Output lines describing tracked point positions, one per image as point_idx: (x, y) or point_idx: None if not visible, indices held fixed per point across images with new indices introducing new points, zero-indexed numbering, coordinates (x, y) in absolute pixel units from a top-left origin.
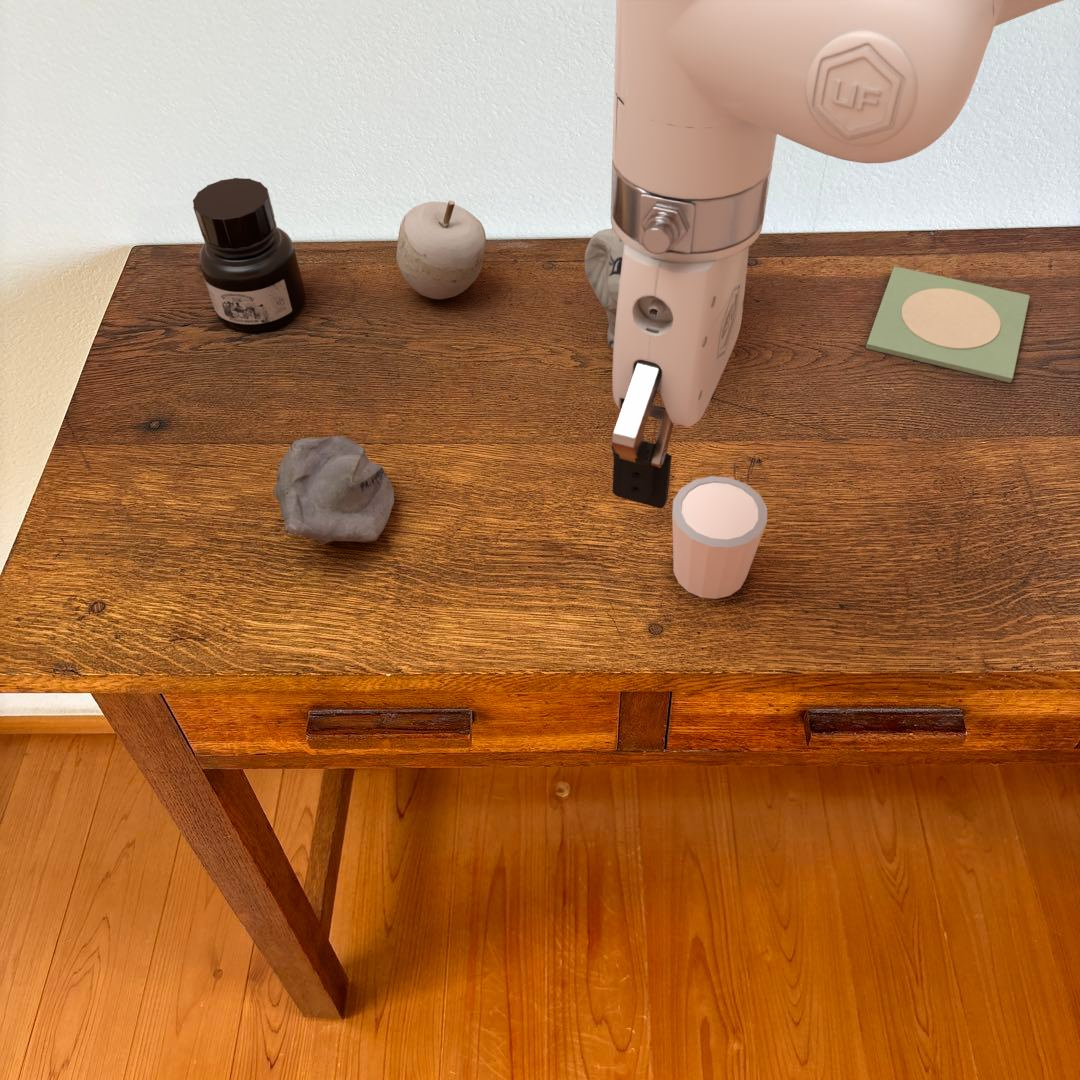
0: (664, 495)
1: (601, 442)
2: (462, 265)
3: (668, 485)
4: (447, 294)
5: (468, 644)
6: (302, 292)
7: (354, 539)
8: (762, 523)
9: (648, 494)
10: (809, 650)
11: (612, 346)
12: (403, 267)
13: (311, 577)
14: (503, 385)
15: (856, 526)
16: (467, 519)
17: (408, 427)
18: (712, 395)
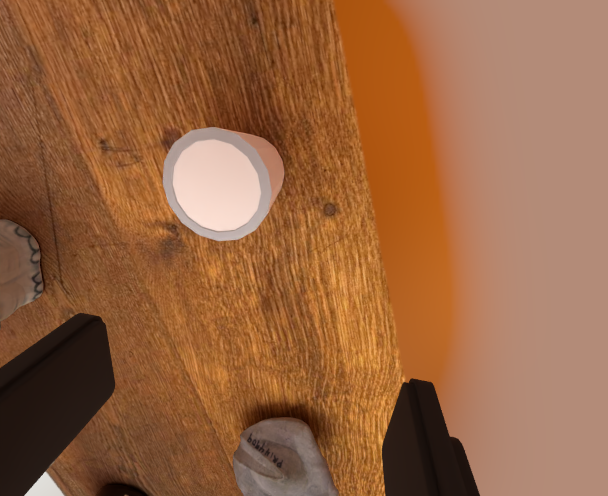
0: (440, 414)
1: (145, 285)
2: None
3: (427, 424)
4: None
5: (375, 344)
6: (106, 494)
7: (315, 441)
8: (218, 132)
9: (467, 462)
10: (321, 51)
11: (38, 296)
12: (50, 465)
13: (338, 440)
14: (121, 362)
15: (141, 17)
16: (259, 364)
17: (190, 412)
18: (86, 322)
